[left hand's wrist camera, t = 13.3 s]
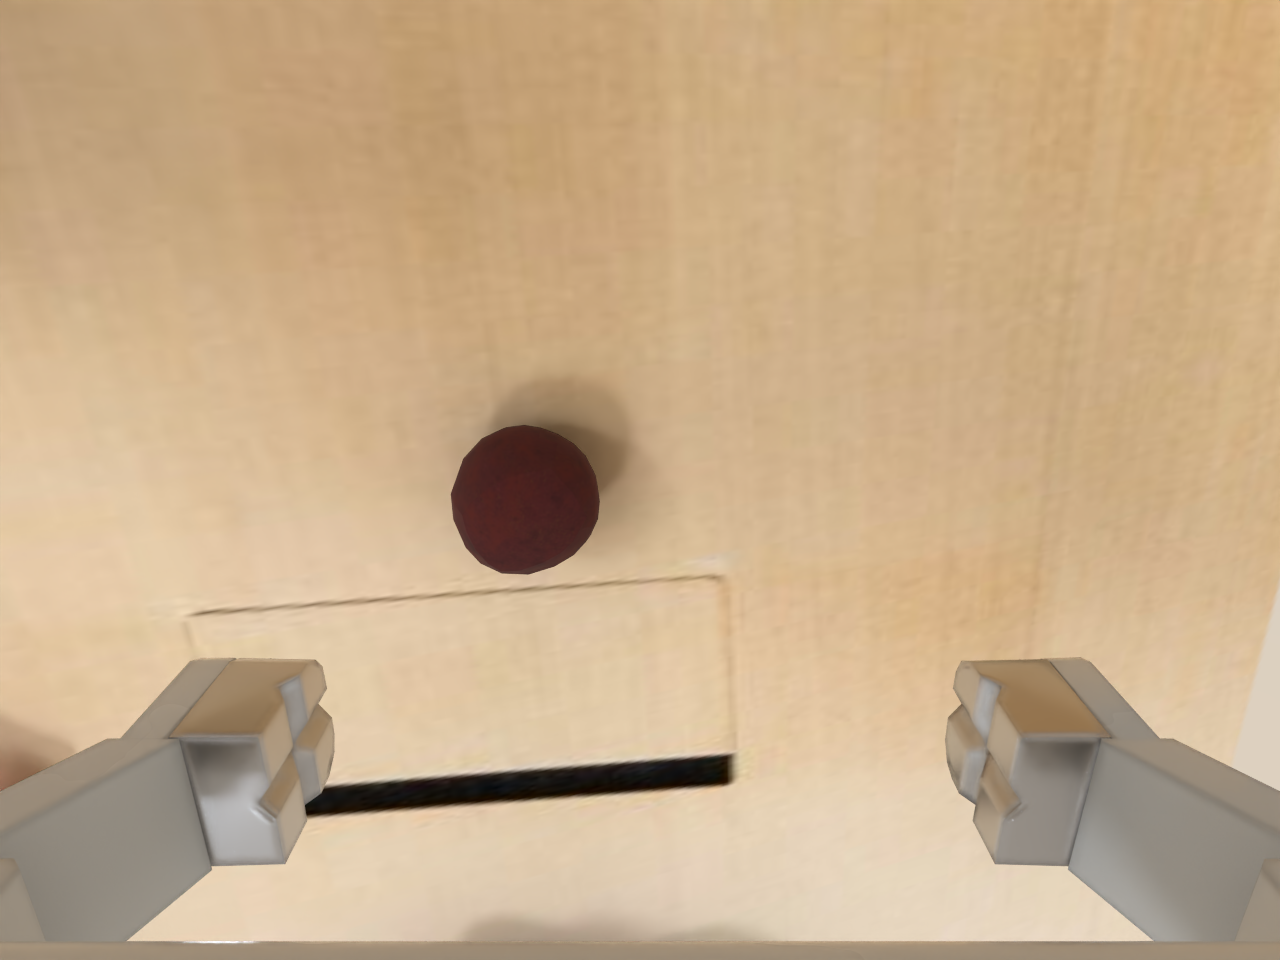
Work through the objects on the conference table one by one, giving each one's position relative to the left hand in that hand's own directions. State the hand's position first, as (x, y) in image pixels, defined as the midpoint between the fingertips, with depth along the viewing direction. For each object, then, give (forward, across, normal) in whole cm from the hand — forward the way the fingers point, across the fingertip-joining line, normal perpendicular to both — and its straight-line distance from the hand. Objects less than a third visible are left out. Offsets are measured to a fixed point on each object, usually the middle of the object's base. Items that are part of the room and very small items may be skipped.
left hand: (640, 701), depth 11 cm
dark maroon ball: (+33, +6, +10) cm, 35 cm away
